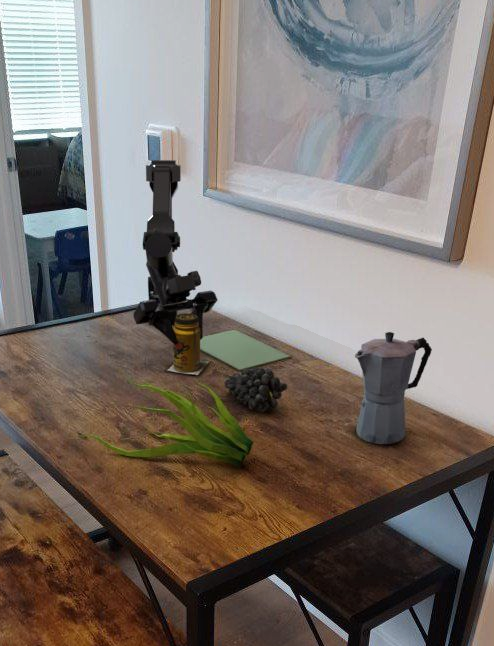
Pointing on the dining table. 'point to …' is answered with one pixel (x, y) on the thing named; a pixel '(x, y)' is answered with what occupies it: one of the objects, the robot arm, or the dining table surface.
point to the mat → (239, 350)
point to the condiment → (187, 345)
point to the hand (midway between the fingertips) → (188, 341)
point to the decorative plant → (196, 432)
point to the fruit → (256, 388)
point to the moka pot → (387, 386)
